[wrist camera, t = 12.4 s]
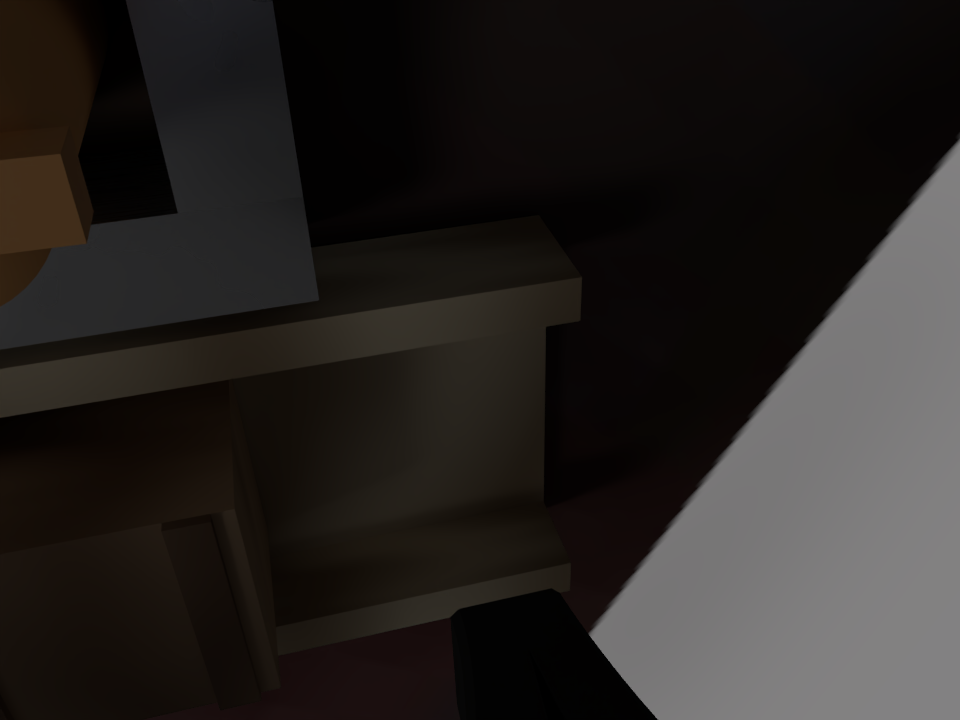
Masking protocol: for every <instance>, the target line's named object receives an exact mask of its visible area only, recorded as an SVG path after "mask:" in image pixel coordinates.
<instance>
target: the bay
mask: <svg viewBox="0 0 960 720" xmlns="http://www.w3.org/2000/svg"><path fill="white" fill-rule="evenodd" d="M311 251H312V257H313V264H314V270H315V276H316V283H317V289H318V296H319V300H318V301H312V302H305V303H299V304H292V305H286V306H280V307H273V308H267V309H260V310H254V311H247V312H241V313H234V314H228V315H221V316H215V317H208V318H202V319H195V320H189V321H182V322H176V323H169V324H163V325H156V326H150V327H143V328H137V329H130V330H124V331H117V332H111V333H104V334H98V335H92V336H85V337H79V338H72V339H66V340H59V341H53V342H46V343H40V344H33V345H27V346H20V347H14V348H7V349H1V350H0V418H2V417H8V416H14V415H20V414H26V413H32V412H38V411H44V410H50V409H56V408H62V407H68V406H74V405H80V404H86V403H92V402H98V401H104V400H110V399H116V398H122V397H128V396H134V395H140V394H146V393H152V392H158V391H164V390H170V389H176V388H182V387H188V386H194V385H200V384H206V383H212V382H218V381H224V380H230V379H232V381H233V385H234V389H235V394H236V398H237V402H238V407H239V411H240V415H241V419H242V424H243V428H244V432H245V436H246V441H247V445H248V449H249V453H250V458H251V462H252V466H253V470H254V475H255V479H256V483H257V487H258V492H259V496H260V500H261V504H262V509H263V513H264V517H265V521H266V526H267V530H268V540H269V552H270V564H271V576H272V588H273V600H274V612H275V623H276V635H277V647H278V656H279V655H283V654H288V653H292V652H297V651H301V650H305V649H310V648H314V647H319V646H323V645H328V644H332V643H337V642H341V641H346V640H350V639H355V638H359V637H364V636H368V635H373V634H377V633H381V632H386V631H390V630H395V629H399V628H404V627H408V626H413V625H417V624H422V623H426V622H431V621H435V620H440V619H444V618H449V617H451V616H452V615H453V614H454V613H455V612H456V611H457V610H458V609H461V608H465V607H470V606H474V605H479V604H483V603H488V602H492V601H497V600H501V599H506V598H510V597H515V596H519V595H524V594H528V593H532V592H537V591H541V590H546V589H550V588H552V589H554V590H556V591H557V592H559V593H560V592H565V591H569V590H570V573H571V562H570V560H569V557H568V555H567V553H566V551H565V548H564V546H563V544H562V542H561V539H560V537H559V535H558V533H557V530H556V528H555V526H554V524H553V521H552V519H551V517H550V515H549V512H548V510H547V508H546V506H545V503H544V437H545V358H546V327H547V326H553V325H559V324H565V323H571V322H577V321H580V314H581V288H582V277H581V275H580V274H579V272H578V271H577V269H576V268H575V266H574V265H573V264H572V262H571V261H570V259H569V258H568V256H567V255H566V254H565V252H564V251H563V249H562V248H561V246H560V245H559V243H558V242H557V241H556V239H555V238H554V236H553V235H552V233H551V232H550V230H549V229H548V228H547V226H546V225H545V223H544V222H543V220H542V219H541V217H540V216H539V215H535V216H528V217H521V218H514V219H507V220H500V221H493V222H486V223H479V224H472V225H465V226H458V227H452V228H445V229H438V230H431V231H424V232H417V233H410V234H403V235H396V236H389V237H382V238H375V239H368V240H361V241H354V242H347V243H340V244H333V245H326V246H319V247H312V248H311Z"/></svg>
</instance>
